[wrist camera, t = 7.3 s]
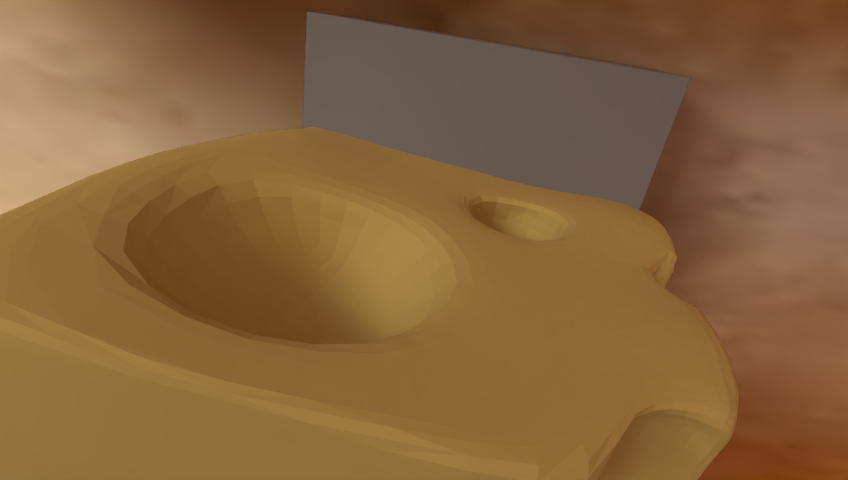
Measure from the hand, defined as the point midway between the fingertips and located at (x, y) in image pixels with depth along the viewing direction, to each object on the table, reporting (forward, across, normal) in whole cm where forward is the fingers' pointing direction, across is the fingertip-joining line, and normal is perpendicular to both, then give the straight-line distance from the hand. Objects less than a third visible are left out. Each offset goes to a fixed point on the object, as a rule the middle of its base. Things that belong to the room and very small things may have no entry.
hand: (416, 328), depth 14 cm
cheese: (+2, 0, 0) cm, 2 cm away
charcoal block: (+15, 0, 0) cm, 15 cm away
